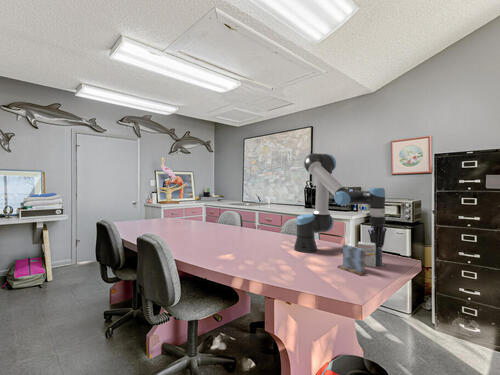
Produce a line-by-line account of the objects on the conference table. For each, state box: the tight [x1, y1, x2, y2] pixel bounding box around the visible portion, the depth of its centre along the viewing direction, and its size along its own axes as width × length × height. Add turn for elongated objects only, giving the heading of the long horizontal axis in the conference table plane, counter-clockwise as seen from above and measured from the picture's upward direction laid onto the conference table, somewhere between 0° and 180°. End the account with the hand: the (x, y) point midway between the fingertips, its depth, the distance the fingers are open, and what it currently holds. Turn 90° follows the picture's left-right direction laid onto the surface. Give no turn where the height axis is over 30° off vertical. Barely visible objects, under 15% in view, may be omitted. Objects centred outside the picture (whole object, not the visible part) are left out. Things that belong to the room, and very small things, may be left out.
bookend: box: [376, 247, 386, 267], centre depth 141 cm, size 10×4×9 cm, turn 29°
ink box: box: [357, 241, 377, 268], centre depth 138 cm, size 9×5×12 cm, turn 62°
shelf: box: [337, 244, 368, 277], centre depth 138 cm, size 14×27×12 cm, turn 119°
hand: (377, 259), depth 142 cm, fingers closed
